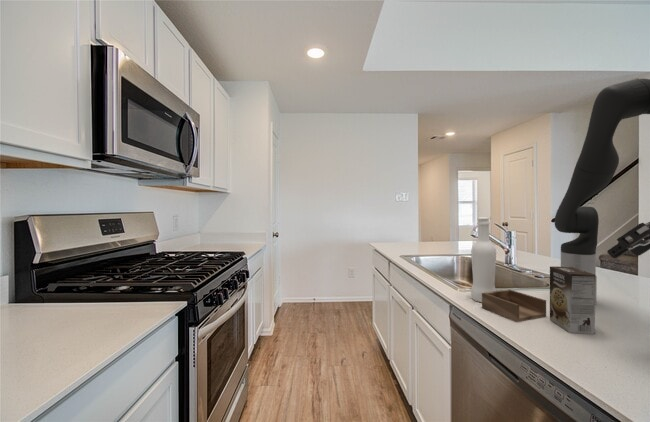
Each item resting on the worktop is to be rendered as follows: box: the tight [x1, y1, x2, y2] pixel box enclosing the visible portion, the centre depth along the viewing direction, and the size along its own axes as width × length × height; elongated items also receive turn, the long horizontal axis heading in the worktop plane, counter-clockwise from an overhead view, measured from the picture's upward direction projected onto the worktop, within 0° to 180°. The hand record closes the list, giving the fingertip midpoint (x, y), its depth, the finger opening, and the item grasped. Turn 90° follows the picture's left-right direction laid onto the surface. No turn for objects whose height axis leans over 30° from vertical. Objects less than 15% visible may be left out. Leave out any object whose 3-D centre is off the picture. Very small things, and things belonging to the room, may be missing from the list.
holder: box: [481, 288, 547, 323], centre depth 94 cm, size 12×12×5 cm
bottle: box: [470, 216, 497, 304], centre depth 106 cm, size 8×8×30 cm
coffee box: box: [549, 266, 597, 335], centre depth 82 cm, size 9×6×16 cm
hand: (622, 253), depth 71 cm, fingers open, 8 cm apart
